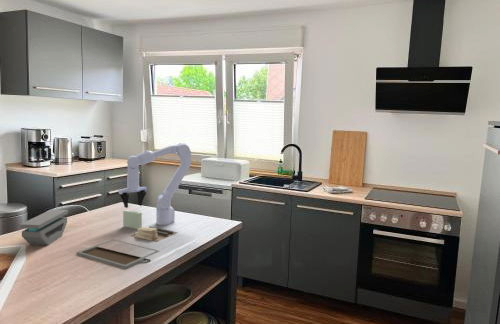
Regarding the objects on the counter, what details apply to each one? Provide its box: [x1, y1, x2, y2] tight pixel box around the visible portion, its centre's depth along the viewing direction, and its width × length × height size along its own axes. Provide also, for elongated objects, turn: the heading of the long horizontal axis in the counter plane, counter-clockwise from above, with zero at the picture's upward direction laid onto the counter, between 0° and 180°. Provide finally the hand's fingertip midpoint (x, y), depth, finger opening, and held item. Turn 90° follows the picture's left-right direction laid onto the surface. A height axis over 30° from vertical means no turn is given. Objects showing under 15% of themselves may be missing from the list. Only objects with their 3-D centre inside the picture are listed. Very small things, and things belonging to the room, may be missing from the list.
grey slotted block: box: [19, 208, 69, 246], centre depth 169 cm, size 25×8×11 cm, turn 0°
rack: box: [129, 226, 179, 243], centre depth 180 cm, size 16×16×2 cm
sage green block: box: [122, 209, 143, 230], centre depth 189 cm, size 2×10×9 cm, turn 64°
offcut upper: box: [137, 226, 157, 235], centre depth 174 cm, size 4×8×2 cm, turn 70°
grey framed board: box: [75, 239, 160, 270], centre depth 156 cm, size 19×2×30 cm
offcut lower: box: [134, 231, 158, 241], centre depth 175 cm, size 5×9×2 cm, turn 64°
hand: (133, 206), depth 193 cm, fingers open, 7 cm apart
